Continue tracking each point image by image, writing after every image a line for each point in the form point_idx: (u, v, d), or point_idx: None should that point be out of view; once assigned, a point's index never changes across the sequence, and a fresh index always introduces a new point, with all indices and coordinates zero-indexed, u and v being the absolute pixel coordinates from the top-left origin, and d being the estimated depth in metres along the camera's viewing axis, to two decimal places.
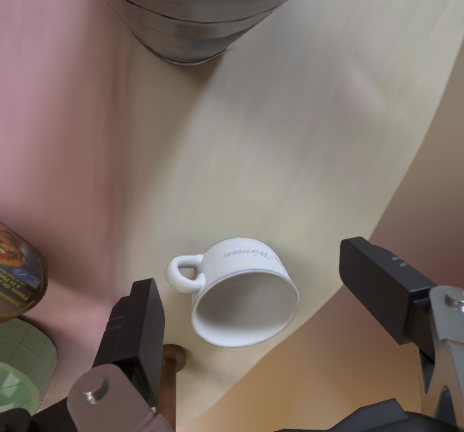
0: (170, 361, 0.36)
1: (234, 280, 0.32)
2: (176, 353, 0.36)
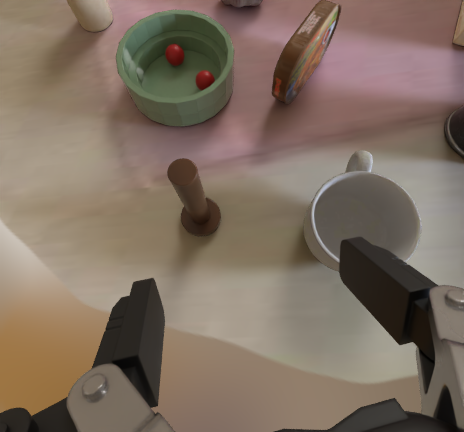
0: (209, 214, 0.33)
1: (327, 239, 0.33)
2: (218, 219, 0.33)
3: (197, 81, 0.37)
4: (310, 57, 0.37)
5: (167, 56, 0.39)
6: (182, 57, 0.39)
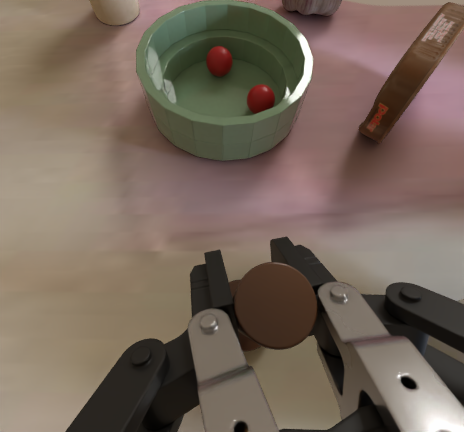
0: None
1: None
2: None
3: (250, 98, 0.25)
4: None
5: (209, 61, 0.27)
6: (230, 65, 0.27)
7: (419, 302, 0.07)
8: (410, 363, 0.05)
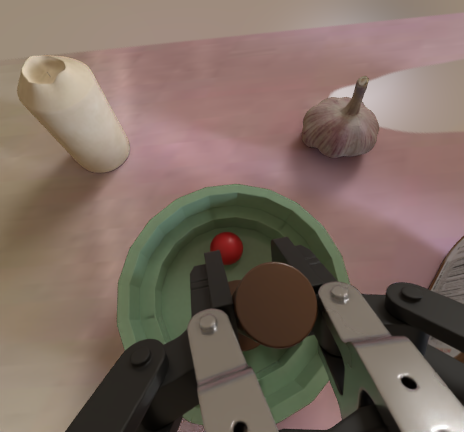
0: None
1: None
2: None
3: None
4: None
5: None
6: (240, 257, 0.22)
7: (420, 302, 0.07)
8: (410, 363, 0.05)
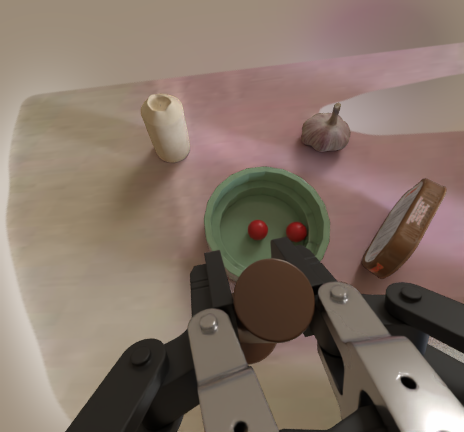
0: None
1: None
2: None
3: (291, 228, 0.35)
4: None
5: None
6: None
7: (419, 302, 0.07)
8: (410, 363, 0.05)
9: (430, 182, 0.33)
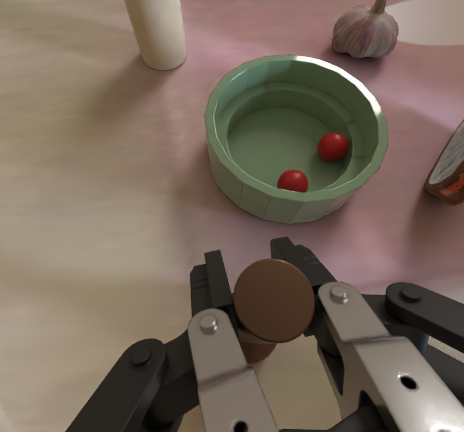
0: None
1: None
2: None
3: (327, 138, 0.25)
4: None
5: (281, 180, 0.23)
6: (302, 192, 0.23)
7: (419, 302, 0.07)
8: (410, 363, 0.05)
9: None
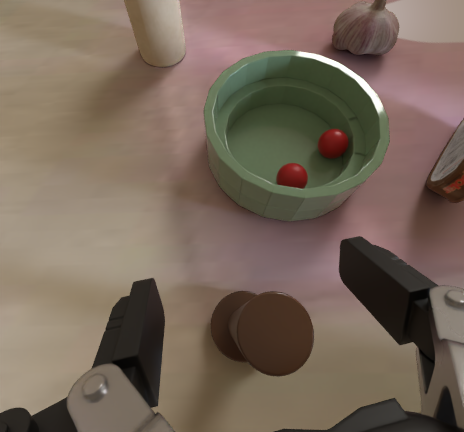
0: None
1: None
2: None
3: (327, 135, 0.25)
4: None
5: (280, 172, 0.23)
6: (302, 182, 0.23)
7: None
8: None
9: None
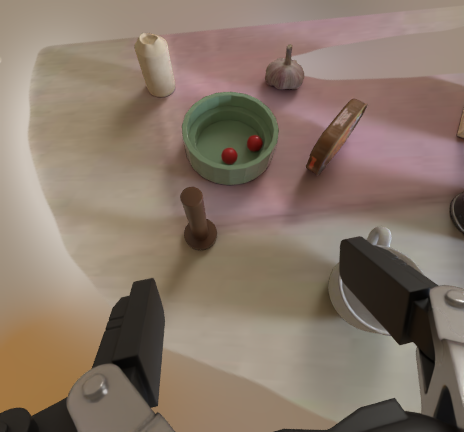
0: (208, 232, 0.40)
1: (348, 297, 0.38)
2: (215, 236, 0.40)
3: (249, 138, 0.45)
4: (339, 140, 0.45)
5: (222, 152, 0.45)
6: (232, 151, 0.44)
7: None
8: None
9: (355, 99, 0.43)
